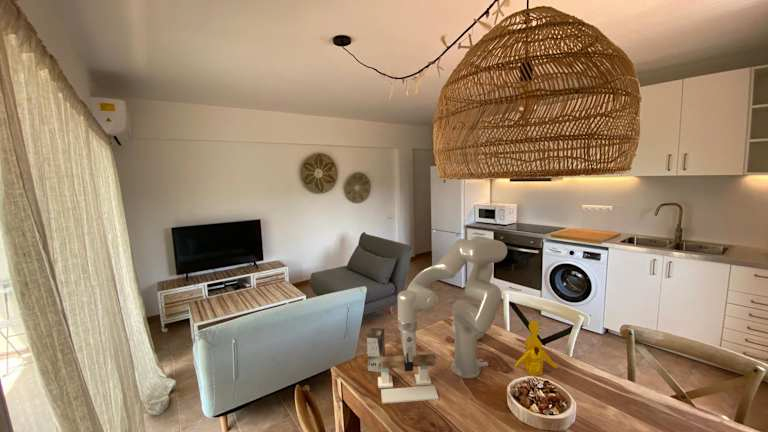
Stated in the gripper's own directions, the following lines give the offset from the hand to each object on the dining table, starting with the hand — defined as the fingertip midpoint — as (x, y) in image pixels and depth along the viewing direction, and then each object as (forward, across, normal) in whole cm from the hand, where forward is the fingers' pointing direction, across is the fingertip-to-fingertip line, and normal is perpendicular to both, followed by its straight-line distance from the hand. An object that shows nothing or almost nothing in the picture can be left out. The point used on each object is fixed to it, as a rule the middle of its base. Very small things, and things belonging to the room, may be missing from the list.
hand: (408, 367), depth 121 cm
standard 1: (+12, +8, +9) cm, 17 cm away
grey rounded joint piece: (+12, +39, -37) cm, 55 cm away
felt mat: (+12, 0, 0) cm, 12 cm away
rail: (-1, 0, 0) cm, 1 cm away
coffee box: (+12, +20, +12) cm, 26 cm away
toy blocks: (+12, +8, -7) cm, 16 cm away
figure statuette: (+12, +9, -56) cm, 58 cm away
